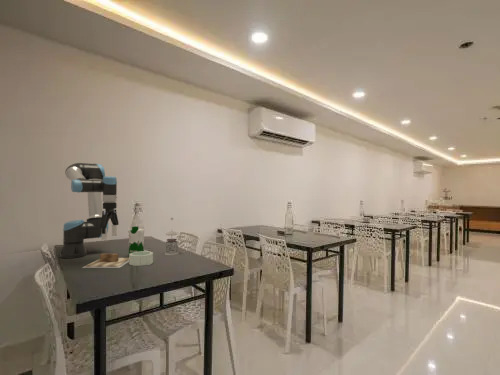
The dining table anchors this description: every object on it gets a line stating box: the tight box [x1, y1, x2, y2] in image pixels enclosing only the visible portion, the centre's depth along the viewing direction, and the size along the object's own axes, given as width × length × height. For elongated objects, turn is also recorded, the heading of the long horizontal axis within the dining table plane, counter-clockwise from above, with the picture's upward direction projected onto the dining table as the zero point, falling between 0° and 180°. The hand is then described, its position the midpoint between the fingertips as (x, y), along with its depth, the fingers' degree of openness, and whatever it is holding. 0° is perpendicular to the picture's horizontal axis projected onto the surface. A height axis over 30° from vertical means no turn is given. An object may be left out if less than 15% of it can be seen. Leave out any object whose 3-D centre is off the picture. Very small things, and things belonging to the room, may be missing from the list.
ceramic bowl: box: [128, 250, 154, 267], centre depth 178 cm, size 13×13×6 cm
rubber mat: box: [81, 260, 129, 269], centre depth 177 cm, size 21×21×1 cm
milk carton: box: [127, 226, 146, 255], centre depth 195 cm, size 9×9×20 cm
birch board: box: [85, 253, 129, 267], centre depth 177 cm, size 18×18×5 cm
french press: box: [164, 217, 183, 256], centre depth 205 cm, size 10×12×25 cm
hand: (109, 237), depth 177 cm, fingers open, 13 cm apart
